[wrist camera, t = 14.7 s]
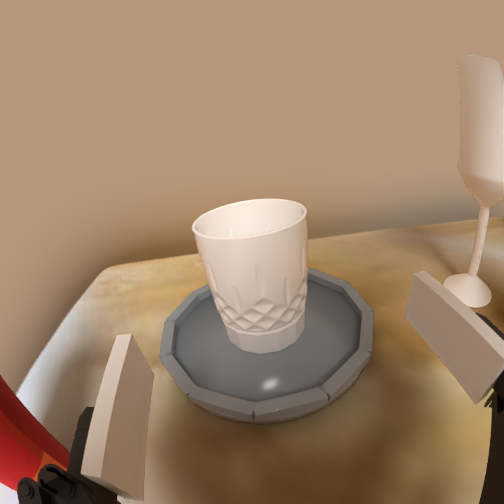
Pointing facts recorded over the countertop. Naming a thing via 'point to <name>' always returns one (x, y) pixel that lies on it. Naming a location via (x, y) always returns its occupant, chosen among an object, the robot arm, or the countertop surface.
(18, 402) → the coffee cup
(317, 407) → the plate
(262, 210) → the white cup
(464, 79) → the champagne flute
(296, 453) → the countertop surface
